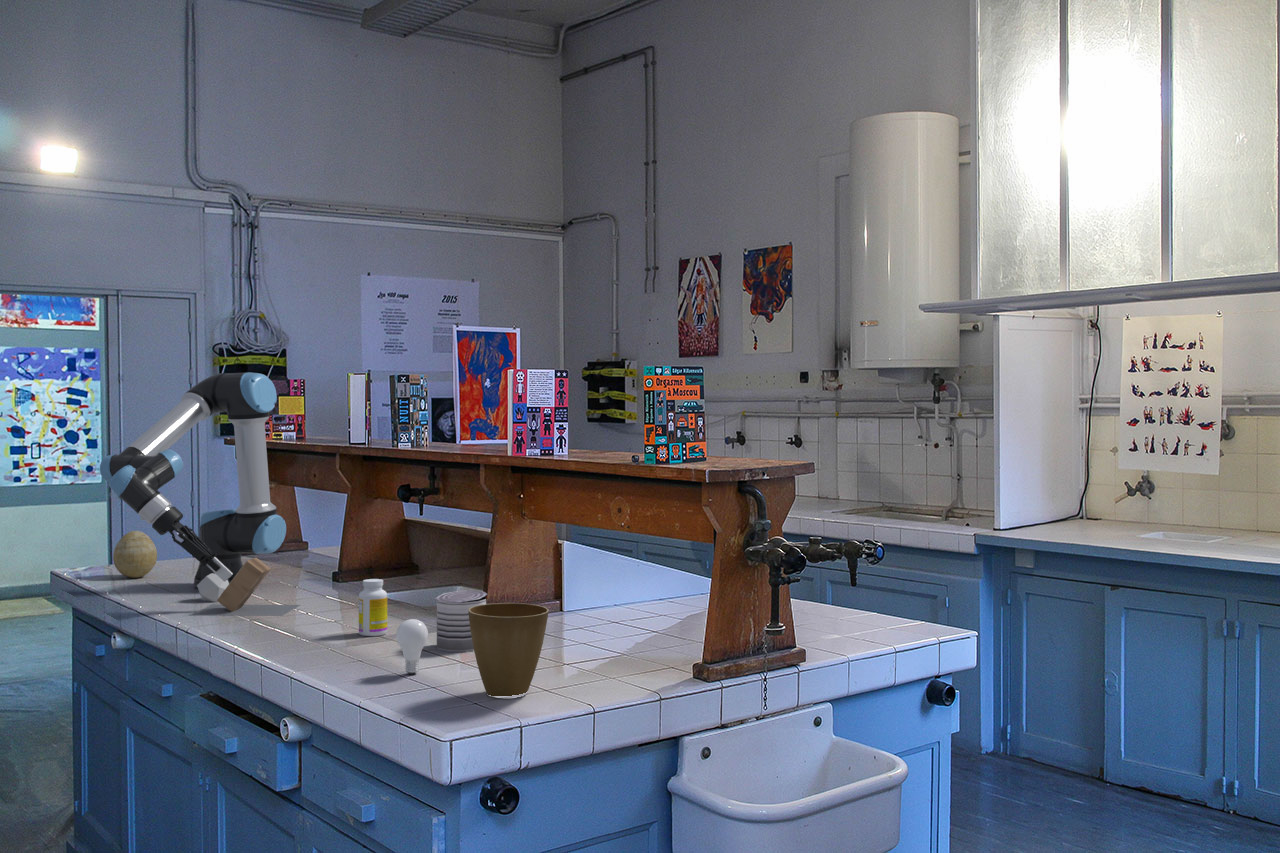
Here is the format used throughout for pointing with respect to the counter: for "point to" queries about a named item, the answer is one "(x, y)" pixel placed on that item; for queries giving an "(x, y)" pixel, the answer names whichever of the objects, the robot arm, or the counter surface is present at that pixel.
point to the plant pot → (507, 644)
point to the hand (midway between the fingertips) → (228, 577)
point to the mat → (246, 610)
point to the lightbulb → (412, 642)
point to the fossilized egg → (135, 554)
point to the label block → (243, 584)
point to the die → (212, 587)
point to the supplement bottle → (372, 608)
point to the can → (456, 619)
